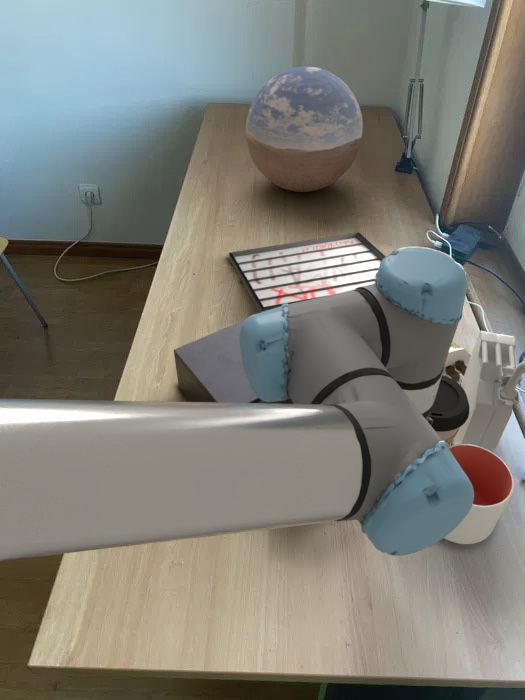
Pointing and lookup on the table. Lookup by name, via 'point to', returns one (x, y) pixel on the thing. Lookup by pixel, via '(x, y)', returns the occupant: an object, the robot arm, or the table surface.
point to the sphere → (304, 129)
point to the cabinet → (214, 369)
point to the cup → (482, 492)
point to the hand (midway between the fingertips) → (366, 517)
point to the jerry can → (490, 390)
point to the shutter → (306, 269)
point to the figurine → (456, 362)
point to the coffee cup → (449, 409)
